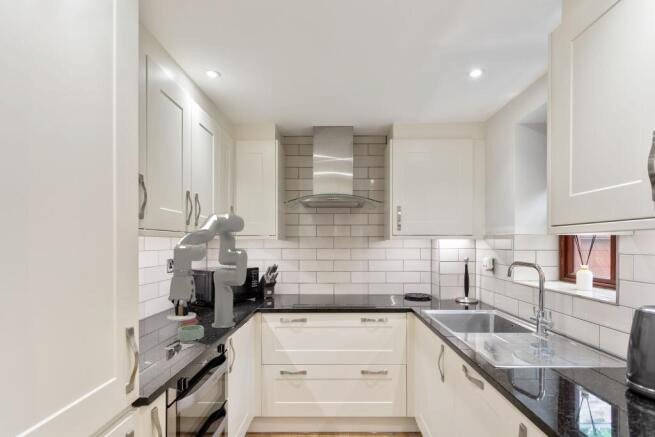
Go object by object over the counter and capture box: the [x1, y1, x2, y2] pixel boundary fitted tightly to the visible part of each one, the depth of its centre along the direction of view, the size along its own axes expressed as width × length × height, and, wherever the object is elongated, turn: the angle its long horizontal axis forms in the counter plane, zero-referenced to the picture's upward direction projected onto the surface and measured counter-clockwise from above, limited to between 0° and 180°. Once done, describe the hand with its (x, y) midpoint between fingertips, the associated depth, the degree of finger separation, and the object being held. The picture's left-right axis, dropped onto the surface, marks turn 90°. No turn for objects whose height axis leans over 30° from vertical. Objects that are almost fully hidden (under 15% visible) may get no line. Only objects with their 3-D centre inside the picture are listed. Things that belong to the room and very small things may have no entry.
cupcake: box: [180, 317, 199, 327], centre depth 186 cm, size 9×8×12 cm
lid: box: [166, 304, 197, 322], centre depth 159 cm, size 12×12×5 cm
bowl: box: [177, 324, 205, 342], centre depth 172 cm, size 11×11×5 cm
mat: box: [163, 342, 180, 351], centre depth 158 cm, size 10×10×1 cm
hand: (181, 314), depth 159 cm, fingers closed on lid, 3 cm apart
